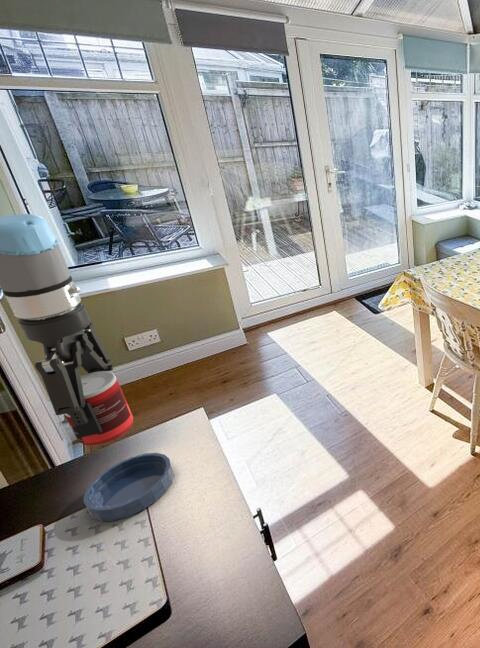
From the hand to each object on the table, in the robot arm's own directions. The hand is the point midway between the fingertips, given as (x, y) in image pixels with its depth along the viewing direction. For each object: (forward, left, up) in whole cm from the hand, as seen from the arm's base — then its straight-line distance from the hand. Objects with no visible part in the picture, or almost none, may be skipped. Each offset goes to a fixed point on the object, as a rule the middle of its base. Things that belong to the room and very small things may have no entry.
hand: (101, 417), depth 76 cm
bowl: (-1, +1, -21) cm, 21 cm away
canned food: (0, 0, -3) cm, 3 cm away
